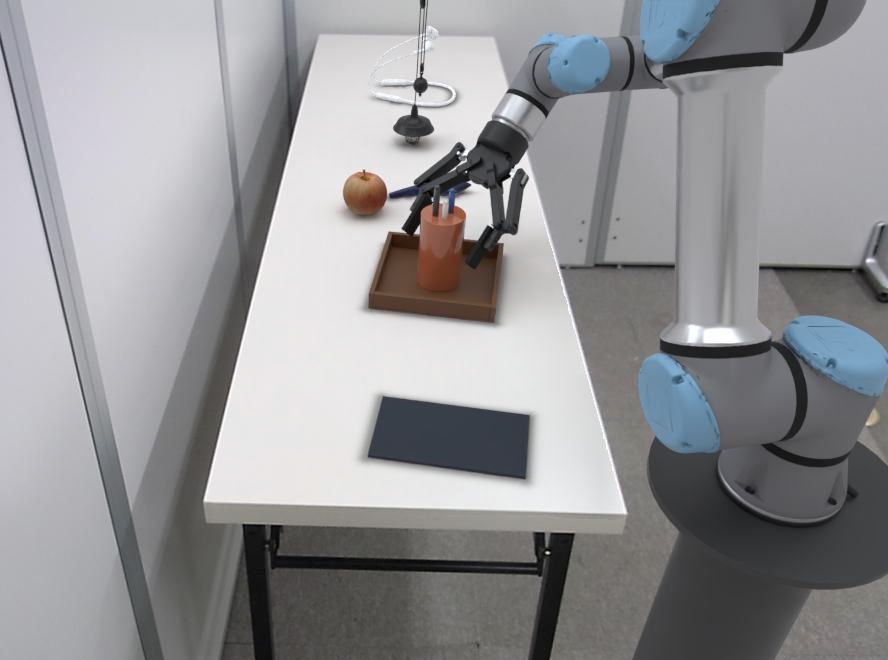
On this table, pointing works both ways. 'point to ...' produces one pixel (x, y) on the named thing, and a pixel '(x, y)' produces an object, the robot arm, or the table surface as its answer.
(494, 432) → the mat
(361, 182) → the apple
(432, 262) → the pen pot
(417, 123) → the light fixture
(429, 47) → the earphone
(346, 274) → the table surface
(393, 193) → the tapered navy handle
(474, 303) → the tray
